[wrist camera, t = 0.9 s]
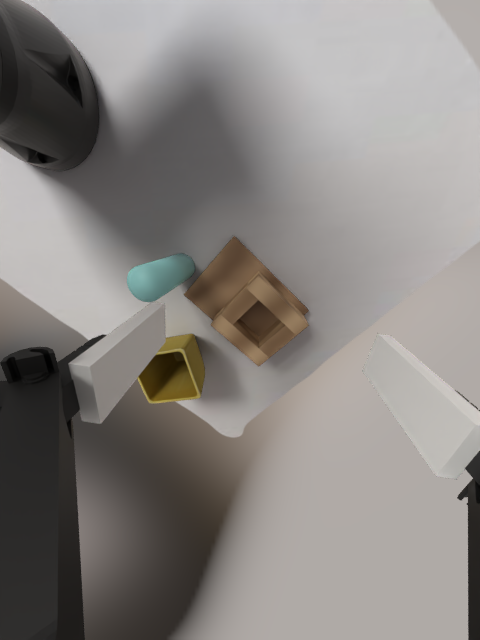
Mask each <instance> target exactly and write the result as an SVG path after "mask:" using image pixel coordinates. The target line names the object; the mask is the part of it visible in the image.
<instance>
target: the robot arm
mask: <svg viewBox="0 0 480 640" xmlns="http://www.w3.org/2000/svg"><path fill="white" fill-rule="evenodd" d="M98 123H99V110H98V101H97V96H96V91H95V87H94V84H93V81H92V78H91V75H90V73H89V71H88V68H87V66H86V64H85V62H84V60H83V59H82V57H81V55H80V54H79V52H78V51H77V49H76V48H75V47H74V45H73V44H72V43H71V41H70V40H69V39H68V38H67V37H66V36H65V35H64V34H63V33H62V32H61V31H60V30H59V29H58V28H57V27H56V26H55V25H54V24H53V23H52V22H51V21H50V20H49V19H48V18H46V17H45V16H44V15H43V14H42V13H40V12H39V11H38V10H36V9H35V8H33V7H32V6H30V5H29V4H27V3H25V2H23V1H21V0H0V147H1V148H3V149H4V150H6V151H7V152H9V153H10V154H12V155H13V156H15V157H17V158H18V159H20V160H22V161H25V162H27V163H29V164H32V165H35V166H39V167H42V168H46V169H50V170H67V169H71V168H73V167H75V166H77V165H78V164H80V163H81V162H82V161H83V160H84V159H85V158H86V157H87V156H88V154H89V153H90V151H91V150H92V148H93V145H94V143H95V140H96V136H97V132H98ZM165 342H166V335H165V303H159V302H152V303H150V304H149V305H147V306H146V307H145V308H143V309H142V310H141V311H139V312H138V313H137V314H135V315H134V316H132V317H131V318H130V319H128V320H127V321H126V322H124V323H123V324H122V325H120V326H119V327H117V328H116V329H115V330H113V331H112V332H111V333H109V334H108V335H101V336H98V337H95V338H93V339H91V340H89V341H88V342H87V343H85V344H84V345H83V346H81V347H79V348H78V349H77V350H76V351H73V352H72V353H71V354H69V355H68V356H66V357H65V358H64V359H62V360H60V361H59V362H57V361H56V357H55V354H54V351H53V350H52V349H50V348H47V347H34V348H28V349H23V350H20V351H17V352H15V353H12V354H10V355H8V356H7V357H5V358H4V359H3V360H2V361H1V366H2V369H3V371H4V374H5V376H6V378H7V381H0V640H85V635H84V616H83V599H82V580H81V561H80V542H79V524H78V506H77V487H76V470H75V453H74V452H75V451H74V432H73V422H72V417H73V416H74V415H75V414H76V413H77V412H78V411H80V415H81V419H82V421H86V422H92V423H99V424H101V423H102V421H103V420H104V419H105V418H106V417H107V415H108V414H109V413H110V412H111V410H112V409H113V408H114V406H115V405H116V404H117V403H118V401H119V400H120V399H121V398H122V396H123V395H124V394H125V393H126V391H127V390H128V389H129V388H130V386H131V385H132V384H133V382H134V381H135V380H136V379H137V377H138V376H139V375H140V374H141V372H142V371H143V370H144V369H145V367H146V366H147V365H148V364H149V362H150V361H151V360H152V358H153V357H154V356H155V355H156V353H157V352H158V351H159V350H160V348H161V347H162V346H163V345H164V343H165ZM362 371H363V373H364V374H365V376H366V377H367V378H368V380H369V381H370V383H371V384H372V386H373V387H374V388H375V390H376V391H377V392H378V394H379V396H380V397H381V399H382V400H383V401H384V403H385V404H386V406H387V407H388V409H389V410H390V411H391V413H392V414H393V416H394V417H395V419H396V420H397V421H398V423H399V424H400V426H401V427H402V428H403V430H404V431H405V433H406V434H407V436H408V437H409V439H410V440H411V441H412V443H413V444H414V446H415V447H416V449H417V450H418V451H419V453H420V454H421V456H422V457H423V458H424V460H425V461H426V463H427V464H428V466H429V467H430V469H431V470H432V471H433V473H434V474H435V476H436V477H443V478H449V479H455V480H457V478H458V477H459V476H460V475H461V474H462V472H463V471H464V470H465V469H466V470H467V471H468V473H469V474H470V475H471V476H472V477H473V479H472V481H471V482H470V483H469V484H468V485H467V486H466V487H465V488H464V489H463V490H462V492H461V493H460V494H459V495H458V497H457V498H458V499H459V500H462V499H463V498H464V497H468V503H467V505H468V612H469V613H468V628H469V629H468V630H469V631H468V632H469V640H480V410H478V408H477V407H476V406H474V405H473V404H472V403H469V401H468V400H467V399H466V398H465V397H464V396H462V395H461V394H460V393H459V392H457V391H456V390H454V389H453V388H451V387H450V386H449V385H448V384H447V383H446V382H444V381H443V380H442V379H441V378H440V377H439V376H437V375H436V374H435V373H434V372H433V371H432V370H430V369H429V368H428V367H427V366H426V365H424V364H423V363H422V362H421V361H420V360H419V359H417V358H416V357H415V356H414V355H413V354H412V353H410V352H409V351H408V350H407V349H406V348H405V347H403V346H402V345H401V344H400V343H399V342H397V341H396V340H395V339H394V338H393V337H392V336H390V335H384V334H377V336H376V339H375V341H374V344H373V346H372V348H371V351H370V353H369V355H368V358H367V360H366V362H365V365H364V367H363V370H362Z"/></svg>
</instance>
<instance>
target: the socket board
mask: <svg viewBox="0 0 480 640" xmlns="http://www.w3.org/2000/svg"><path fill="white" fill-rule="evenodd" d="M184 295H185V296H186V297H187V298H188V299H189V300H190V301H192V302H193V303H194V304H195V305H196V306H197V307H199V308H200V309H201V310H202V311H203V312H204V313H205V314H207V315H208V316H209V317H210V318H211V319H212V320H213V321H212V323H211V326H212V327H214V328H215V329H216V330H217V331H218V332H219V333H220V334H222V335H223V336H224V337H225V338H226V339H227V340H229V341H230V342H231V343H232V344H233V345H234V346H236V347H237V348H238V349H239V350H240V351H241V352H242V353H244V354H245V355H246V356H247V357H248V358H249V359H251V360H252V361H253V362H254V363H255V364H256V365H258V366H260V365H261V364H263V363H264V362H265V361H266V360H267V359H269V358H270V357H271V356H272V355H273V354H275V353H276V352H277V351H278V350H280V349H281V348H282V347H283V346H284V345H286V344H287V343H288V342H289V341H291V340H292V339H293V338H294V337H295V336H297V335H298V334H299V333H300V332H301V331H303V330H304V329H305V328H306V327H308V326H309V325H308V323H307V321H306V318H305V316H304V315H305V314H306V313H307V312H308V311H309V310H308V309H307V308H306V307H305V306H304V305H303V304H302V303H301V302H300V301H299V300H298V299H297V298H296V297H295V296H294V295H293V294H292V293H291V292H290V291H289V290H288V289H287V288H286V287H285V286H284V285H283V284H282V283H281V282H280V281H279V280H278V279H277V278H276V277H275V276H274V275H273V274H272V273H271V272H270V271H269V270H268V269H267V268H266V267H265V266H264V265H263V264H262V263H261V262H260V261H259V260H258V259H257V258H256V257H255V256H254V255H253V254H252V253H251V252H250V251H249V250H248V249H247V248H246V247H245V246H244V245H243V244H242V243H241V242H240V241H239V240H238V239H237V238H236V237H235V236H234V237H233V238H232V239H231V240H230V241H229V242H228V244H227V245H226V246H225V247H224V248H223V249H222V251H221V252H220V253H219V254H218V255H217V256H216V258H215V259H214V260H213V261H212V262H211V263H210V265H209V266H208V267H207V268H206V269H205V270H204V272H203V273H202V274H201V275H200V276H199V277H198V279H197V280H196V281H195V282H194V283H193V284H192V286H191V287H190V288H189V289H188V290H187V291H186V293H185V294H184Z"/></svg>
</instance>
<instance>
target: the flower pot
mask: <svg viewBox="0 0 480 640" xmlns="http://www.w3.org/2000/svg"><path fill="white" fill-rule="evenodd" d="M204 377H205V368H204V363H203V359H202V357H201V354H200V351H199V348H198V345H197V342H196V339H195V336H194V335H193V334H187V335H181V336H175V337H169V338H166V342H165V343H164V345H163V346H162V347H161V348H160V350H159V351H158V352H157V353H156V355H155V356H154V357H153V358H152V360H151V361H150V362H149V364H148V365H147V366H146V367H145V369H144V370H143V371H142V372H141V374H140V375H139V376H138V377H137V379H138V381H139V383H140V385H141V387H142V389H143V392H144V394H145V396H146V398H147V400H148V402H149V403H164V402H172V401H181V400H191V399H197V398H200V397H201V392H202V387H203V382H204Z"/></svg>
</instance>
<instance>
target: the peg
mask: <svg viewBox="0 0 480 640" xmlns="http://www.w3.org/2000/svg"><path fill="white" fill-rule="evenodd" d="M194 271H195V265H194V262H193V260H192V259H191V258H190V257H189V256H188V255H186V254H176V255H173V256H169V257H166V258H163V259H159V260H156V261H152V262H149V263H146V264H142V265H139V266H136V267H134V268H132V269H131V270H130V272H129V273H128V276H127V284H128V287H129V290H130V291H131V293H132V294H133V295H134V296H135V297H136V298H137V299H139V300H141V301H144V302H153V301H155V300H157V299H159V298H160V297H162V296H163V295H165V294H166V293H168V292H169V291H171V290H172V289H174V288H175V287H177V286H178V285H180V284H181V283H183V282H184V281H186V280H187V279H189V278H190V277H191V276H192V275H193V274H194Z"/></svg>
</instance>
